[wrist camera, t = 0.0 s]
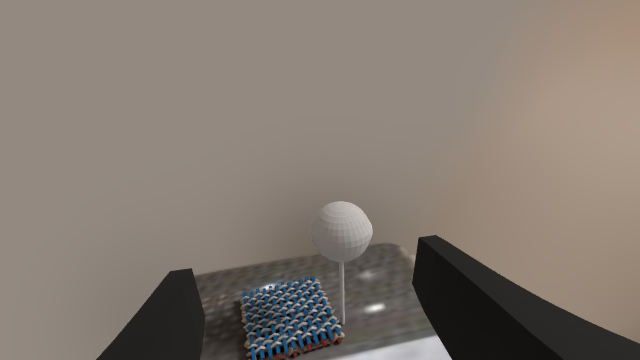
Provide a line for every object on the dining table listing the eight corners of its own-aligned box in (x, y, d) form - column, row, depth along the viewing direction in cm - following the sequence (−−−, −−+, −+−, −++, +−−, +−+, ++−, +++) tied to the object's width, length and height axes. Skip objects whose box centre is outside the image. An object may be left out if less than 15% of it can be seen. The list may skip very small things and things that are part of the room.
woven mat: (317, 282, 43) (316, 270, 42) (347, 346, 33) (347, 331, 32) (239, 302, 40) (237, 289, 39) (248, 377, 30) (245, 363, 30)
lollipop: (311, 343, 33) (302, 218, 27) (319, 302, 38) (313, 191, 33) (370, 348, 32) (373, 220, 27) (370, 306, 38) (372, 192, 32)
